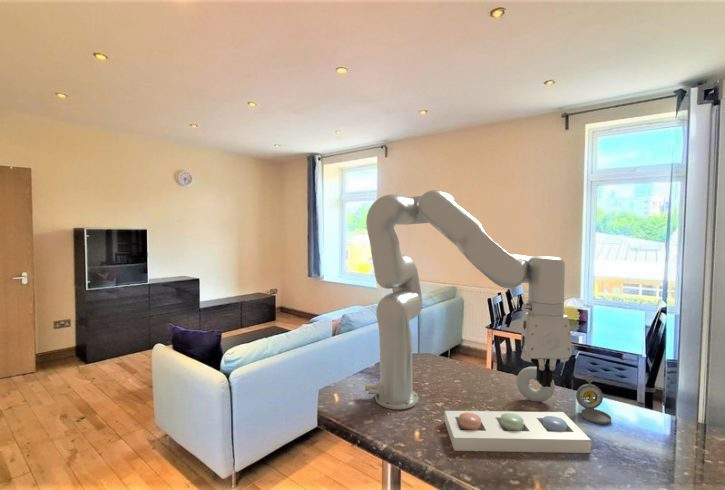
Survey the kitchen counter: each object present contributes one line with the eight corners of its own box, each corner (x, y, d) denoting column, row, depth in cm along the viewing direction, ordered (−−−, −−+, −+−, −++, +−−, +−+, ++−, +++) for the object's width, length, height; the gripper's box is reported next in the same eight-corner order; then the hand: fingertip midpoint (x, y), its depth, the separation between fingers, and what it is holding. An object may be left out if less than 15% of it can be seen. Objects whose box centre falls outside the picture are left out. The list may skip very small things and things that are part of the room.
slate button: (548, 435, 83) (548, 427, 83) (539, 423, 88) (539, 415, 88) (570, 435, 83) (570, 427, 83) (560, 424, 88) (560, 416, 88)
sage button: (505, 432, 84) (505, 423, 84) (498, 420, 89) (498, 412, 89) (526, 432, 84) (526, 424, 83) (518, 421, 89) (518, 413, 88)
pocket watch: (602, 428, 89) (602, 388, 89) (569, 412, 97) (569, 376, 96) (620, 419, 93) (621, 381, 93) (587, 405, 101) (587, 370, 100)
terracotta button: (461, 431, 84) (461, 423, 84) (457, 420, 89) (457, 412, 89) (483, 432, 84) (483, 423, 84) (477, 420, 89) (477, 412, 89)
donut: (554, 401, 103) (554, 367, 102) (554, 407, 100) (555, 372, 99) (516, 395, 107) (516, 362, 107) (515, 400, 104) (516, 366, 104)
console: (454, 450, 81) (454, 437, 81) (444, 421, 93) (444, 410, 93) (590, 453, 80) (590, 439, 79) (563, 423, 92) (563, 412, 91)
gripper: (519, 312, 81) (518, 391, 82) (587, 312, 80) (585, 392, 81) (507, 305, 89) (506, 377, 89) (569, 305, 88) (567, 378, 89)
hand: (544, 384), depth 85 cm, fingers closed
